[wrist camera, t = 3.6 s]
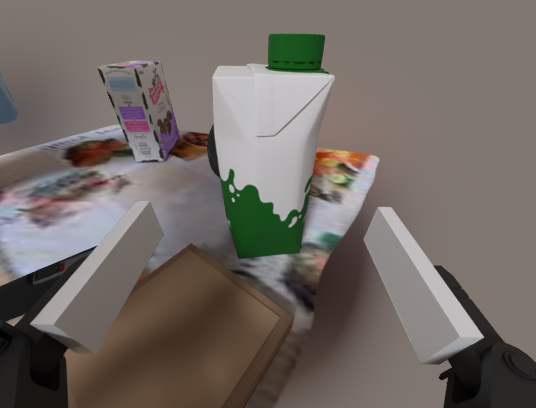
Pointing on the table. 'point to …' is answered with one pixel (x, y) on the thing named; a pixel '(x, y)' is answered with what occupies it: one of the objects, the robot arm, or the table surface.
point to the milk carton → (270, 142)
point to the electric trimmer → (32, 287)
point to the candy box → (142, 108)
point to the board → (182, 341)
